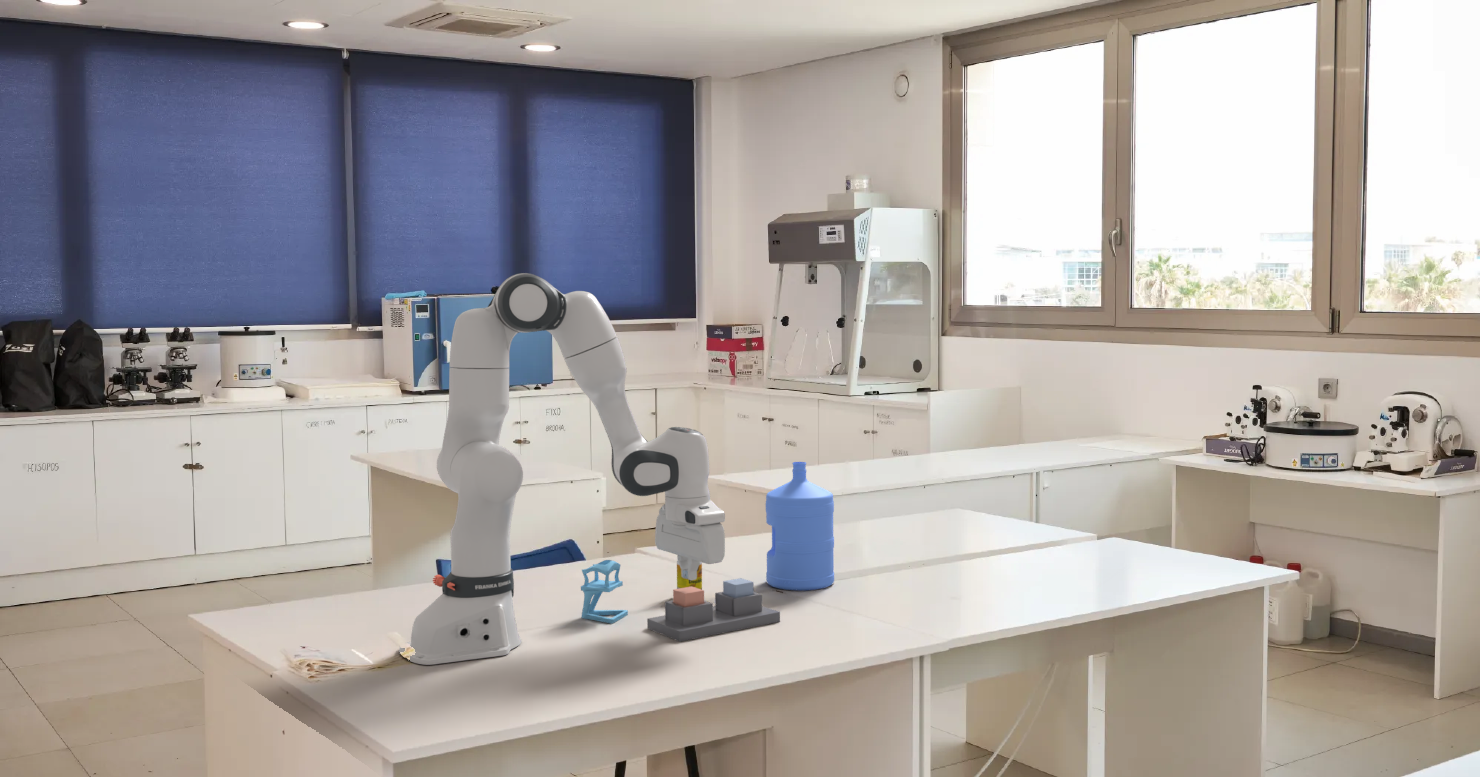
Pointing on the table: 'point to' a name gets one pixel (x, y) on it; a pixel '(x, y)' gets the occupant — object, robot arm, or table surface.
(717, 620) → the grey piece
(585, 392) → the robot arm
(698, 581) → the supplement bottle
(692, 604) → the terracotta key
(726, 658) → the table surface
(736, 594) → the slate key
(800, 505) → the water jug
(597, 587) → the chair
